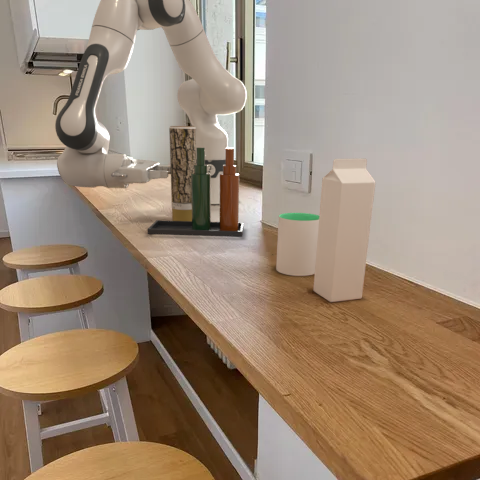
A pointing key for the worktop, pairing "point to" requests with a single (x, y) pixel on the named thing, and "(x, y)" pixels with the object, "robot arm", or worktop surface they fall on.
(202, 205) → the green bottle
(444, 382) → the worktop surface
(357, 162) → the milk
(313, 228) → the mug
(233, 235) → the tray
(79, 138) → the robot arm
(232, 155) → the amber bottle
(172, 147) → the paper tube
